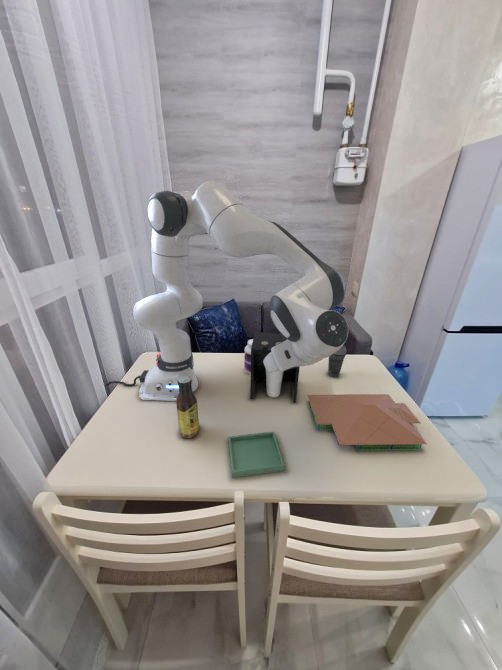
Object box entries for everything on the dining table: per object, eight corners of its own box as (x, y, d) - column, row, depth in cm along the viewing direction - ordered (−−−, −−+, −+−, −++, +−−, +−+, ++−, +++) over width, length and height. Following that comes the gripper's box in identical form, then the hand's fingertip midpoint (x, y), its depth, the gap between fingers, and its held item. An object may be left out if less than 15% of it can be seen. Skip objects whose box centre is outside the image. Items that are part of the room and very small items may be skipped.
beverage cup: (328, 368, 119) (334, 328, 110) (344, 373, 115) (352, 332, 107) (322, 375, 114) (328, 334, 105) (338, 381, 110) (346, 338, 101)
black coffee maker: (295, 403, 97) (301, 349, 87) (250, 399, 99) (250, 346, 89) (294, 381, 110) (299, 331, 100) (254, 378, 111) (255, 329, 102)
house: (433, 451, 78) (441, 431, 75) (322, 452, 77) (326, 432, 74) (393, 401, 99) (399, 383, 95) (306, 401, 98) (308, 383, 94)
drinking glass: (277, 401, 98) (279, 367, 91) (261, 395, 101) (262, 361, 95) (284, 392, 103) (287, 359, 97) (269, 386, 106) (271, 354, 100)
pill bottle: (240, 369, 117) (240, 340, 111) (255, 364, 122) (255, 336, 115) (251, 378, 111) (252, 348, 105) (266, 372, 116) (267, 342, 110)
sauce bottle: (195, 440, 81) (189, 388, 72) (176, 437, 82) (168, 385, 73) (202, 425, 86) (198, 375, 78) (185, 422, 88) (178, 372, 79)
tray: (232, 477, 70) (231, 472, 69) (228, 441, 81) (228, 436, 80) (283, 470, 72) (284, 465, 71) (273, 436, 83) (273, 431, 82)
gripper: (336, 321, 68) (318, 336, 81) (265, 349, 64) (258, 360, 77) (348, 343, 67) (327, 355, 80) (276, 373, 63) (266, 380, 76)
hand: (292, 357), depth 79 cm, fingers open, 8 cm apart
